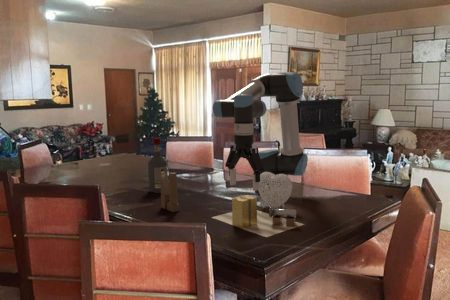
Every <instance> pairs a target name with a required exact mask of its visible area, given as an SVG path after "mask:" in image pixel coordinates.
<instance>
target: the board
mask: <svg viewBox="0 0 450 300" xmlns="http://www.w3.org/2000/svg"><path fill="white" fill-rule="evenodd" d="M210 219H214V220H217V221H220V222H223V223H226V224H228V225H230V226H233V227H235V226H234V225H232V211H230V212H226V213H223V214H218V215H215V216H211V218H210ZM304 225H305V223H302V222H297V221H295V225H294V227H288V226H286V217H282V222H281V225H280V226H273V216H272V218H270V217H269V212H268V213H267V212H264V211H261V210H258V209H257V224H256V225H253V226H250V227H246V228H243V229H242V230H244V231H247V232H250V233H253V234H256V235H258V236H261V237H265V238H269V237H272V236H275V235H278V234H280V233H283V232H286V231H290V230H293V229H296V228H298V227H301V226H304Z"/></svg>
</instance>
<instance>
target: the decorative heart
mask: <svg viewBox="0 0 450 300" xmlns="http://www.w3.org/2000/svg"><path fill="white" fill-rule="evenodd" d="M263 175H264V176H263ZM269 175H270V176H269ZM271 175H272V176H271ZM267 176H269V177H267ZM264 177H265V178H264ZM266 177H267V178H266ZM263 178H264V179H263ZM270 178H271V179H270ZM265 179H266V180H265ZM273 179H274V180H273ZM279 180H280V181H279ZM266 181H267V182H266ZM270 181H271V182H270ZM273 181H274V182H273ZM264 182H265V183H264ZM277 182H278V183H277ZM267 183H268V184H269V183H270V184H269V185H267ZM275 183H276V184H275ZM272 184H273V185H272ZM274 184H275V185H274ZM263 186H264V188H263ZM273 186H274V187H273ZM276 186H277V187H276ZM279 186H280V187H279ZM269 187H270V188H269ZM260 189H261V190H260ZM258 191H259V194H258V195H260V197H261V199H262V201H263V202H264V206H265V207H267V206H268V207H269V208H270V207H273V209H281V206H282V209H285V203H286V202H288V200H289V199H290V196H292V195H291V194H292V191H293V182H292V180H291V177H290V176H289V175H285V174H278V175H274V174H273V173H270V172H263V173H262V174H260V182H259V190H258ZM263 191H264V192H263ZM275 194H276V195H275Z"/></svg>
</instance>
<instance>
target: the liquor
mask: <svg viewBox="0 0 450 300" xmlns="http://www.w3.org/2000/svg"><path fill="white" fill-rule="evenodd" d="M152 141H153V155H152V157H151V159H149V161H148V163H147V165H148V166H147V168H148V190H149V192H150V193H153V192H154V193H153V194H161V185H160V179H163V178H167V180H168V181H169V173H168V161H167V160H166V158H165V157H163V156H162V153H161V138H160V137H153V140H152Z"/></svg>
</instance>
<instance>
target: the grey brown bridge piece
mask: <svg viewBox="0 0 450 300" xmlns="http://www.w3.org/2000/svg"><path fill="white" fill-rule="evenodd" d="M268 210H269V211H268V214H269V217H270V218H272V216H273V226H280V225H281V222H282V218H285V219H286V226H288V227H294V225H295V222H296V218H297V210H296V209H287V208H284V209H283V208H280V209H279V208H274V209H273V207H269V209H268Z"/></svg>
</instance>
